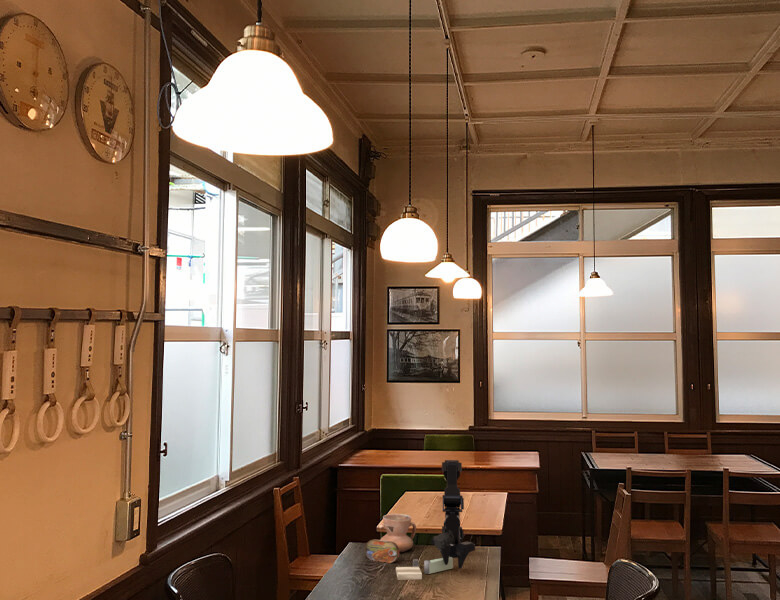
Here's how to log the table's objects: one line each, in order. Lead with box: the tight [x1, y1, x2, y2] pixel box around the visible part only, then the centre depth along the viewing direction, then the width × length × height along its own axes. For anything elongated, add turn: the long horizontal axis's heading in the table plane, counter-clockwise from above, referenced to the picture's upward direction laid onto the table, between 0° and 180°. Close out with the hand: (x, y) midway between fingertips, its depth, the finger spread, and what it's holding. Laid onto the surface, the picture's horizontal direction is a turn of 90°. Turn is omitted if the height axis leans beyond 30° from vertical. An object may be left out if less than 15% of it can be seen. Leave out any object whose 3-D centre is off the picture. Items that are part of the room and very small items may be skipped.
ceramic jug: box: [378, 513, 417, 553], centre depth 305 cm, size 18×14×14 cm
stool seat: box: [395, 566, 423, 581], centre depth 269 cm, size 9×9×2 cm
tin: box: [364, 538, 400, 564], centre depth 288 cm, size 15×3×8 cm, turn 62°
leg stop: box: [412, 558, 420, 568], centre depth 279 cm, size 2×2×3 cm
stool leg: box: [423, 557, 454, 575], centre depth 274 cm, size 13×2×4 cm, turn 126°
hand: (453, 566), depth 271 cm, fingers open, 7 cm apart
